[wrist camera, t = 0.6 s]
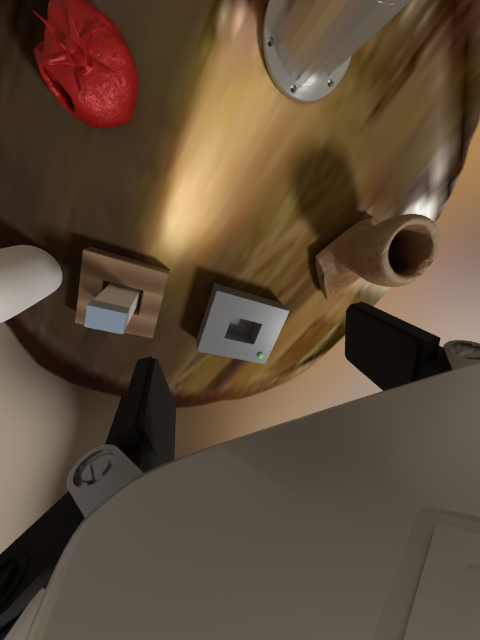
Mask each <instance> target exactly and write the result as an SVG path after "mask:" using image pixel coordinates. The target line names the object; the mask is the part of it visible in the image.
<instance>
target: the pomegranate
mask: <svg viewBox="0 0 480 640" xmlns="http://www.w3.org/2000/svg"><path fill="white" fill-rule="evenodd" d="M33 12H34V13H35V14H36V15H37V16H38V17H39V18H40V19H41V20H42V21H43V22H44V24H45V25H46V28H45V32H44V38H45V40H44V41H42V42H41V43H39V44H38V46H36V47H35V49H34V53H35V58H36V61H37V65H38V68H39V71H40V74H41V76H42V78H43V79H44V81H45V83H46V84H47V85H48V87H49V89H50V91H51V92H52V93H53V94H54V95H55V97H56V98H57V99H58V101H59V102H60V104H61V105H62V106H63V107H64V108H65V109H66V110H68V111H69V112H70V113H71V114H72V115H73V116H75V117H76V118H78V119H79V120H81V121H83V122H84V123H86V124H88V125H90V126H92V127H95V128H110V127H115V126H119V125H123V124H125V123H128V122H130V121H131V119H132V118H133V115H134V111H135V107H136V98H137V92H138V85H139V83H138V73H137V69H136V65H135V62H134V59H133V56H132V54H131V52H130V49H129V46H128V44H127V42H126V41H125V39H124V37H123V35H122V33H121V31H120V30H119V29H118V28H117V27H116V25H115V24H114V23H113V22H112V20H110V19H109V18H108V17H107V16H106V15H105V14H104V13H102V12H101V11H100V10H99V9H98V8H96V7H95V6H94V5H93V4H92V3H91V2H89V1H87V0H49V3H48V12H47V13H48V21H46V20H45V19H43V18H42V17H41V16H39V15H38V14H37V13H36V12H35V11H34V10H33Z"/></svg>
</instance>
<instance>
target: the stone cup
mask: <svg viewBox="0 0 480 640" xmlns="http://www.w3.org/2000/svg"><path fill="white" fill-rule="evenodd" d="M438 248H439V233H438V229H437V227H436V225H435V224H434V223H433V221H431V220H430V219H429V218H427V217H425V216H422V215H417V214H407V215H401V216H396V217H392V218H390V219H387V220H385V221H383V222H381V223H379V222H378V221H377V220H375V219H374V218H368V219H365V220H362V221H360V222H358V223H357V224H355V225H353V226H352V227H350V228H349V229H348V230H346V231H345V232H344V233H343V234H341V235H340V236H339V237H338V238H336V239H335V240H334V241H333V242H331V243H330V244H329V245H328V246H327V247H325V248H324V249H323V250H322V251H320V252H319V253H318V254H317V255H316V256H315V260H316V271H317V276H318V278H319V284H320V287H321V290H322V292H323V294H324V296H325V298H326V299H327V300H329V299H331V298H333V297H334V296H336V295H337V294H339V293H340V292H341V291H343V290H344V289H346V288H347V287H349V286H350V285H351V284H352V283H354V282H355V281H357V280H358V279H359V278H361V277H362V278H363V279H365V280H367V281H369V282H371V283H374V284H376V285H381V286H388V287H399V286H403V285H407V284H410V283H412V282H414V281H416V280H417V279H419V278H420V277H421V276H422V275H423V274H424V273H425V272H426V271H427V269H428V268H429V267H430V266H431V265H432V263H433V262H434V260H435V258H436V256H437V252H438Z"/></svg>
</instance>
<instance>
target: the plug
mask: <svg viewBox="0 0 480 640" xmlns="http://www.w3.org/2000/svg"><path fill="white" fill-rule="evenodd" d="M140 291H141V290H139V289H135V288H131V287H127V286H123V285H119V284H116V283H112V282H111V283H110V284H109V285H108V286H107V287H106V288H105V289H104V290H103V291H102V292H101V293H100V294H99V295H98V296H97V297H96V298H95V299H94V300H92V301H91V302H90V303H89V304H88V305H87V309H86V317H85V325H84V327H88V328H93V329H98V330H104V331H109V332H114V333H119V334H123V333H124V331H125V329H126V327H127V324H128V323H129V321H130V319H131V317H132V315H133V313H134V311H135V309H136V307H137V305H138V300H139V296H140Z"/></svg>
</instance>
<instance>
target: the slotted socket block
mask: <svg viewBox="0 0 480 640" xmlns="http://www.w3.org/2000/svg"><path fill="white" fill-rule="evenodd" d="M168 274H169V270H168V269H165V268H161V267H158V266H155V265H151V264H148V263H144V262H141V261H138V260H134V259H131V258H127V257H124V256H121V255H117V254H114V253H110V252H107V251H103V250H100V249H97V248H93V247H89V248H86V249H84V250H83V256H82V265H81V274H80V283H79V292H78V302H77V311H76V320H75V323H78V324H83V325H85V317H86V309H87V305H88V304H89V303H90V302H91V301H92V300H94V299H95V298H96V297H97V296H98V295H99V294H100V293H101V292H102V291H103V290H104V289H105V288H106V287H107V286H108V285H109V284H110V283H111V282H112V283H116V284H119V285H123V286H127V287H131V288H135V289H139V290H141V291H140V296H139V300H138V305H137V307H136V309H135V311H134V313H133V315H132V317H131V319H130V321H129V323H128V324H127V327H126V329H125V331H124V333H129V334H134V335H139V336H144V337H149V338H153V335H154V331H155V327H156V323H157V319H158V315H159V311H160V307H161V303H162V299H163V295H164V291H165V287H166V282H167V278H168Z"/></svg>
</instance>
